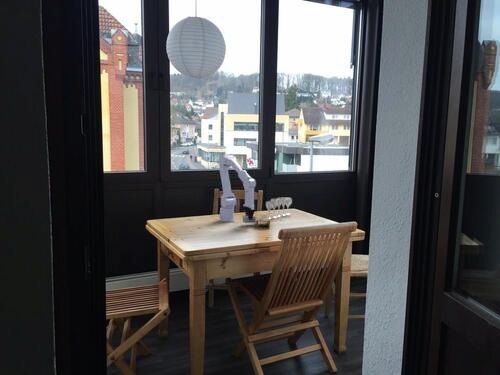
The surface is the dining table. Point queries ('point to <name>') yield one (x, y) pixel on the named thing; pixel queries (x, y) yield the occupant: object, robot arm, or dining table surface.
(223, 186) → the robot arm
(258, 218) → the walnut shelf
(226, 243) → the dining table surface
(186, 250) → the dining table surface
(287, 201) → the goblet set
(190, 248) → the dining table surface
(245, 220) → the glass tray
